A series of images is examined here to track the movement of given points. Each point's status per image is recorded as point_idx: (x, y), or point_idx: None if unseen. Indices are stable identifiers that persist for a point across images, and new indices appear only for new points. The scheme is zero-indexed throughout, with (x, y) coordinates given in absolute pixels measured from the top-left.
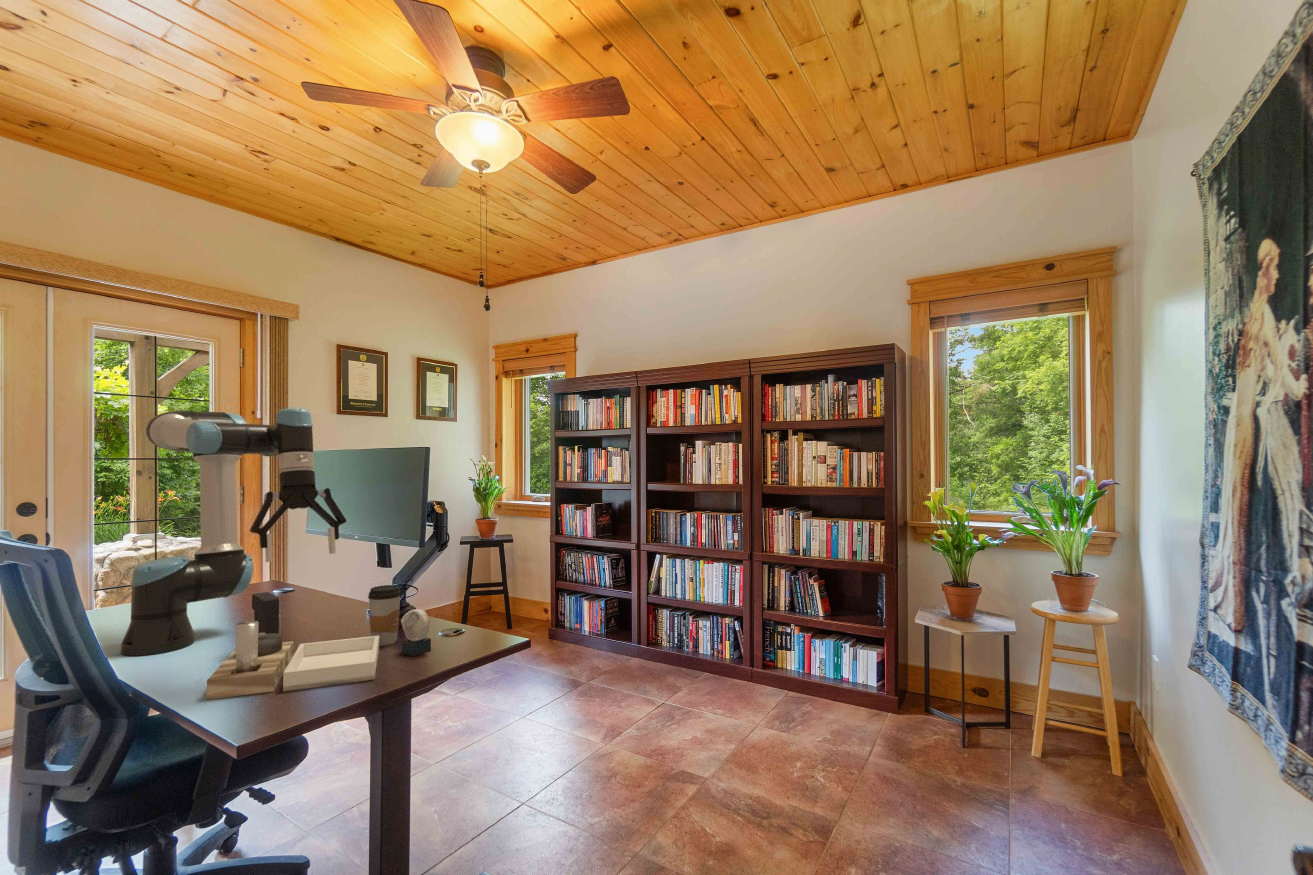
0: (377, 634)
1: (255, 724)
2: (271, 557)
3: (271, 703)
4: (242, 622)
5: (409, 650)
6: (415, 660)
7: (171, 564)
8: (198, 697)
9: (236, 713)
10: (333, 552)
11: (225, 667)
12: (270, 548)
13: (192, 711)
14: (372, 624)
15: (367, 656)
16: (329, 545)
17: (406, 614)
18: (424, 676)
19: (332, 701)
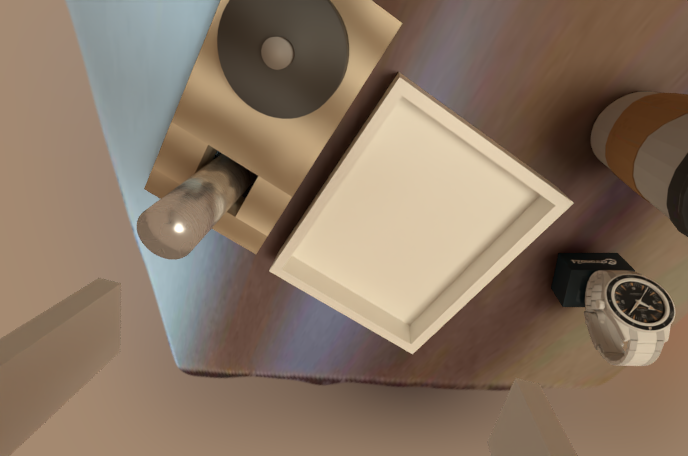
0: (604, 157)
1: (207, 334)
2: (97, 366)
3: (246, 284)
4: (155, 208)
5: (558, 285)
6: (531, 310)
7: None
8: (156, 146)
9: (195, 278)
10: (495, 449)
11: (188, 126)
12: (38, 419)
13: (142, 212)
14: (617, 150)
15: (484, 232)
16: (530, 451)
17: (619, 321)
18: (466, 380)
19: (313, 349)
